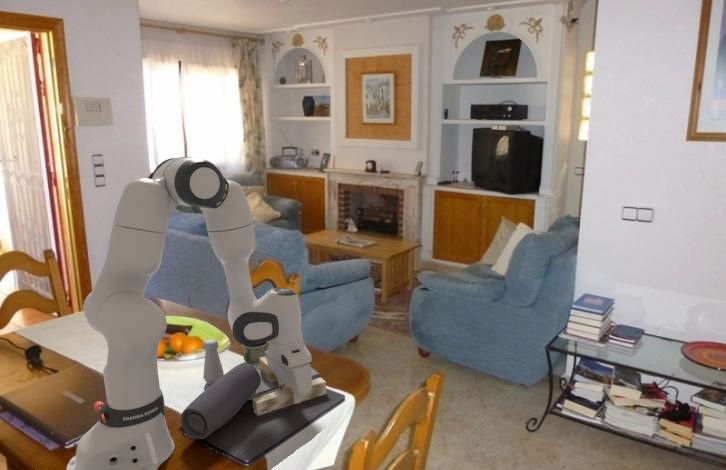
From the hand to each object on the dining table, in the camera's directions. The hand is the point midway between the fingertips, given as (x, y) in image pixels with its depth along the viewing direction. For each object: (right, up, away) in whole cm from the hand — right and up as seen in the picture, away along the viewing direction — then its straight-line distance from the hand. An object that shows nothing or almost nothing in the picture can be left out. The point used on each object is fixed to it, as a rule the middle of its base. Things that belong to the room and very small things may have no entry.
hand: (289, 396), depth 146 cm
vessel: (-14, +3, +28) cm, 31 cm away
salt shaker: (-24, 0, +13) cm, 27 cm away
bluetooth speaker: (-15, -4, -7) cm, 17 cm away
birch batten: (0, -2, 0) cm, 2 cm away
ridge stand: (-6, +1, +13) cm, 14 cm away
